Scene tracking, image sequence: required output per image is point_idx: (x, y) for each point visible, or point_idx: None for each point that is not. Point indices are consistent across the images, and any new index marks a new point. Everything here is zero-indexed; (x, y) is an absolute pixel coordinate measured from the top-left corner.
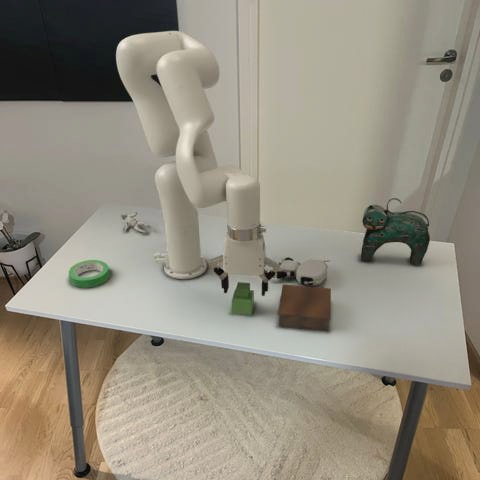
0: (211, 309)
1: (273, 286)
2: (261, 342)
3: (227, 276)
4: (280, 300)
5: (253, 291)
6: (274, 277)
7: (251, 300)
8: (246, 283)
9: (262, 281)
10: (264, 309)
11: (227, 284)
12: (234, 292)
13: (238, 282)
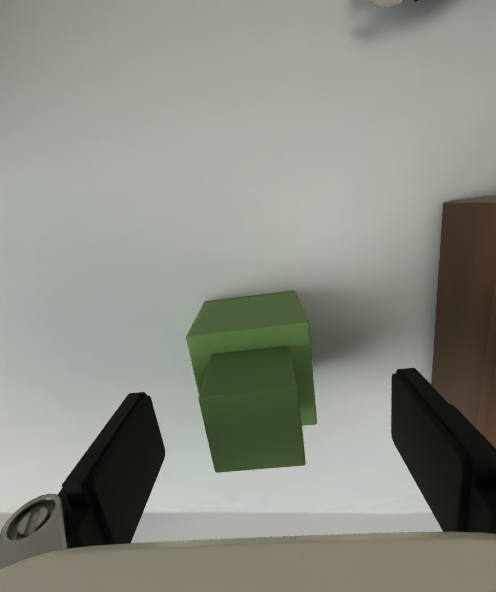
0: (126, 376)
1: (376, 80)
2: (371, 491)
3: (101, 509)
4: (493, 382)
5: (308, 336)
6: (399, 3)
7: (315, 415)
8: (271, 402)
9: (462, 531)
10: (354, 317)
11: (139, 463)
12: (196, 374)
13: (205, 404)
